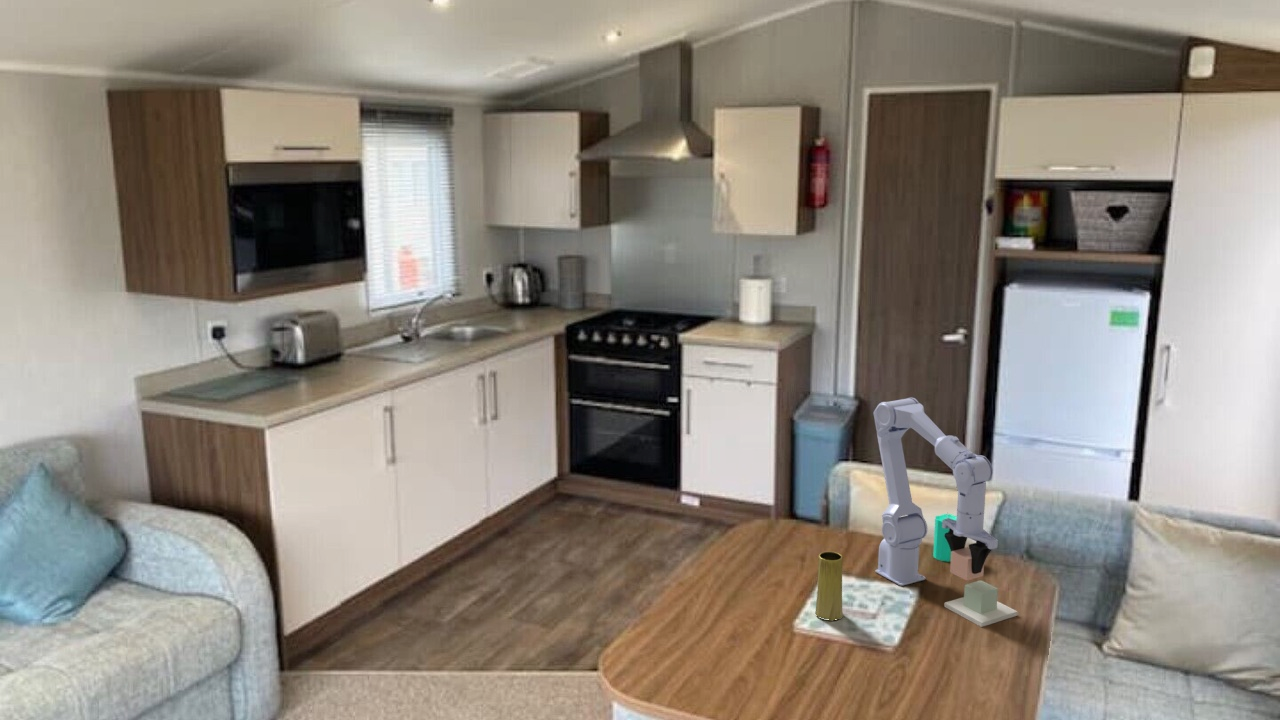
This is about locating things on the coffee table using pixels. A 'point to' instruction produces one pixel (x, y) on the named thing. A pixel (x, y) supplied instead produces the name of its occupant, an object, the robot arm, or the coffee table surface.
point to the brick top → (963, 564)
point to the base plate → (981, 619)
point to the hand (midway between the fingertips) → (967, 567)
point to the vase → (829, 586)
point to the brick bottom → (980, 597)
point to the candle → (941, 539)
